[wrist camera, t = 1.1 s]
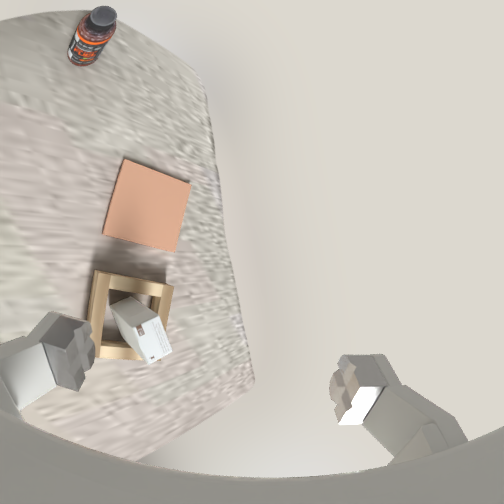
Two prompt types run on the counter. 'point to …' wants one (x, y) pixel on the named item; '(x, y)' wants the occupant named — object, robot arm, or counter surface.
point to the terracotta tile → (146, 207)
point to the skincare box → (141, 329)
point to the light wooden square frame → (98, 305)
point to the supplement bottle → (92, 36)
